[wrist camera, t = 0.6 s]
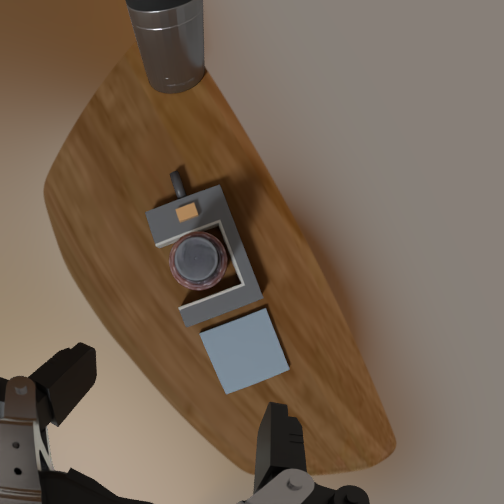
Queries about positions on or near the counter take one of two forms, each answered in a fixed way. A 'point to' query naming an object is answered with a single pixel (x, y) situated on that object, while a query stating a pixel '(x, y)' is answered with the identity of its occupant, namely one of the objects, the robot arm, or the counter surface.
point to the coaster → (244, 351)
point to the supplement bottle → (198, 260)
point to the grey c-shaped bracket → (201, 219)
